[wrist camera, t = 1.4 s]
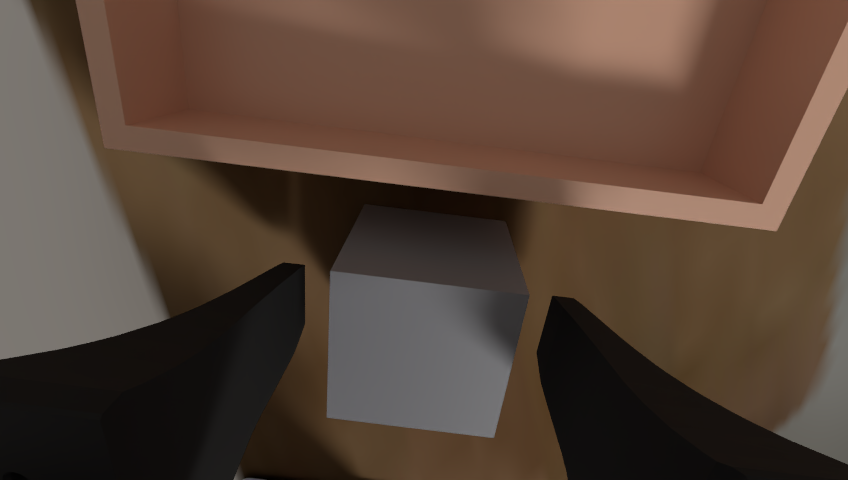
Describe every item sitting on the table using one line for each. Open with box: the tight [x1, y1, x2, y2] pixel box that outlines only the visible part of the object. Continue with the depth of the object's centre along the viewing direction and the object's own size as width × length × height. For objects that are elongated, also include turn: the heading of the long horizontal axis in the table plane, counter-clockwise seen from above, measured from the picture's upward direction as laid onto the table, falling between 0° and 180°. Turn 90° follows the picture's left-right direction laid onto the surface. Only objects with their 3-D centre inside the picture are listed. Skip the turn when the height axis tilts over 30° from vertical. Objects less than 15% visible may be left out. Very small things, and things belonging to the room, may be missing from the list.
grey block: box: [327, 204, 529, 438], centre depth 13 cm, size 4×4×4 cm
